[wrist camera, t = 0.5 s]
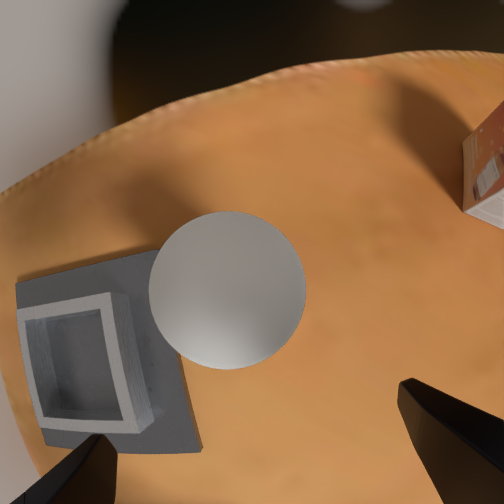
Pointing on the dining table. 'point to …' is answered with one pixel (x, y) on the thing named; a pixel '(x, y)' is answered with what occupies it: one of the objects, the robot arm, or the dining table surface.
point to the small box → (485, 170)
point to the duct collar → (103, 360)
